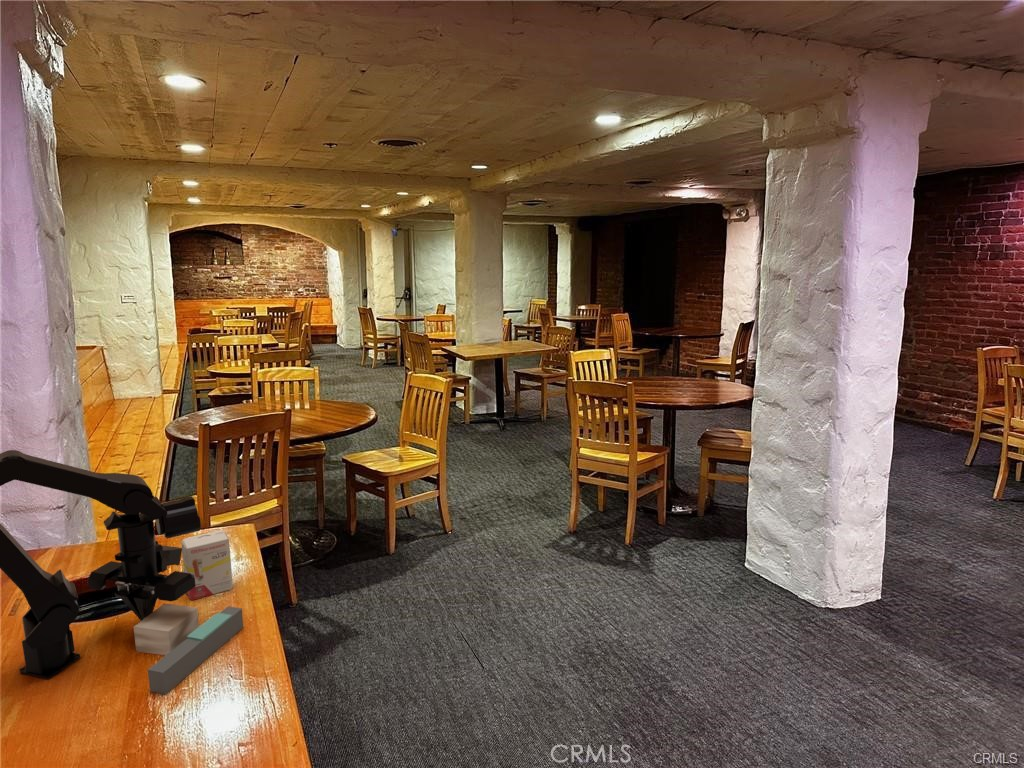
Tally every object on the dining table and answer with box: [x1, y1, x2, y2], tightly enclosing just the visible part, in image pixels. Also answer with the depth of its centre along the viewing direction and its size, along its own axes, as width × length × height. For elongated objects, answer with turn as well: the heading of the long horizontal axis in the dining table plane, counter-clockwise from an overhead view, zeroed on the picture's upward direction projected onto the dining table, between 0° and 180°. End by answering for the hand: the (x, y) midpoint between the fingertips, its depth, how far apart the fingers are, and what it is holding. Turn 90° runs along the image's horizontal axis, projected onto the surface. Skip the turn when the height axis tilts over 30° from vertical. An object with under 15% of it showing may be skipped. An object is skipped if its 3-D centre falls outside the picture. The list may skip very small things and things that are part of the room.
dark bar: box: [147, 606, 244, 695], centre depth 118 cm, size 20×3×4 cm, turn 165°
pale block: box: [133, 603, 200, 656], centre depth 122 cm, size 8×7×5 cm
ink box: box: [180, 530, 234, 601], centre depth 139 cm, size 9×5×12 cm, turn 127°
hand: (146, 622), depth 124 cm, fingers closed
